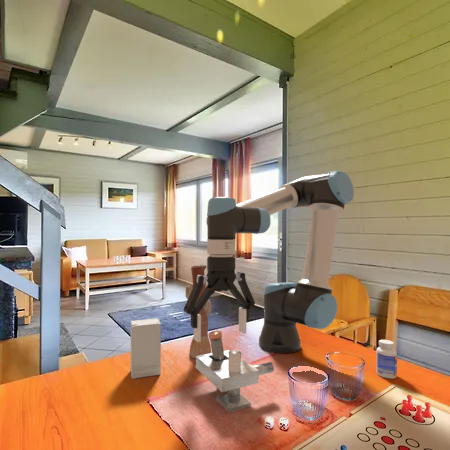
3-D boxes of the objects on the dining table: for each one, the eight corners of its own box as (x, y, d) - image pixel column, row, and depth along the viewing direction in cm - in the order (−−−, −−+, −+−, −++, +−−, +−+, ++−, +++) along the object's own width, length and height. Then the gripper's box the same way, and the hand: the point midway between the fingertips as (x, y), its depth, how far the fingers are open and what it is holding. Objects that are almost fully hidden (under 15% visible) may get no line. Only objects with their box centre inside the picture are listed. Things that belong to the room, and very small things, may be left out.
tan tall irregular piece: (206, 349, 108) (209, 263, 109) (216, 356, 102) (218, 265, 103) (178, 354, 103) (181, 264, 104) (186, 362, 97) (189, 266, 98)
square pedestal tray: (195, 386, 81) (196, 340, 82) (246, 374, 89) (247, 332, 90) (221, 415, 69) (222, 360, 69) (277, 398, 76) (278, 349, 77)
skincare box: (157, 367, 93) (159, 317, 93) (160, 375, 87) (162, 322, 88) (128, 370, 90) (130, 319, 90) (129, 380, 84) (131, 325, 85)
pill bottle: (399, 380, 88) (399, 345, 88) (379, 378, 89) (379, 343, 89) (393, 372, 93) (393, 339, 94) (374, 370, 94) (374, 337, 95)
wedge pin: (214, 384, 82) (206, 333, 81) (225, 379, 84) (217, 329, 83) (220, 390, 79) (212, 337, 78) (231, 384, 81) (223, 333, 80)
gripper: (182, 258, 73) (181, 349, 72) (267, 255, 85) (267, 332, 84) (171, 256, 79) (170, 339, 79) (252, 253, 91) (251, 325, 91)
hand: (220, 336), depth 81 cm, fingers open, 13 cm apart
